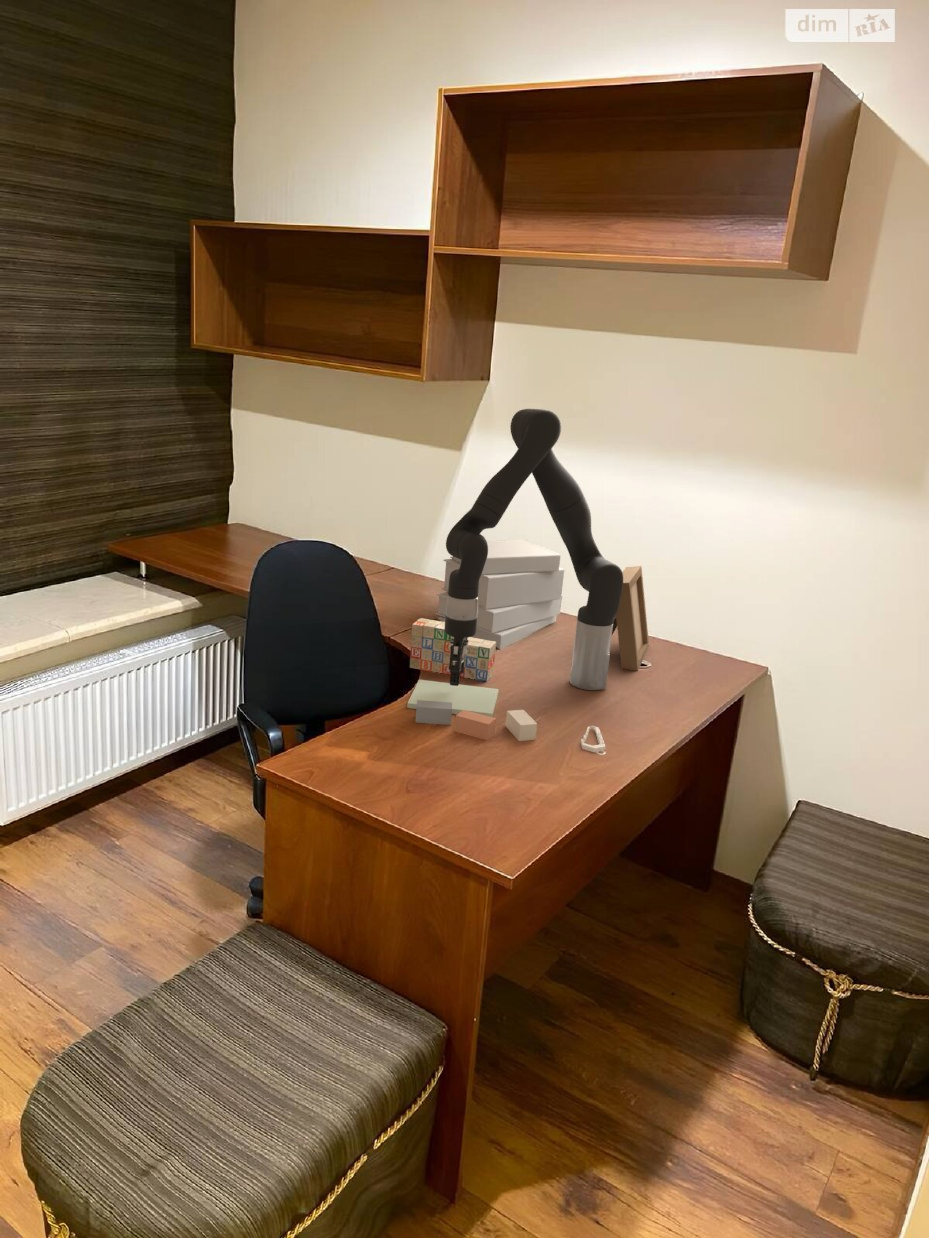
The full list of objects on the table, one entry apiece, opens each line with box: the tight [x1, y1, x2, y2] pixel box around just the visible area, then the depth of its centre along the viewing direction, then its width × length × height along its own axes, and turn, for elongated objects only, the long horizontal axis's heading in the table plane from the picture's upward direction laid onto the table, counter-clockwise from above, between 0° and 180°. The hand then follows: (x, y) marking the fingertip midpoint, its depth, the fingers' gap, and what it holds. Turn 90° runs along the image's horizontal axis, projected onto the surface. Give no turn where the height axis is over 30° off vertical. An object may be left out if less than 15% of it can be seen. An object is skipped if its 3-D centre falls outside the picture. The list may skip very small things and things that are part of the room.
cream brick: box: [505, 709, 538, 742], centre depth 209 cm, size 8×4×4 cm, turn 19°
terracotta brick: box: [454, 710, 497, 741], centre depth 207 cm, size 8×4×4 cm, turn 64°
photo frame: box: [612, 565, 650, 672], centre depth 261 cm, size 15×22×25 cm
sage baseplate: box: [406, 679, 499, 718], centre depth 224 cm, size 20×16×1 cm
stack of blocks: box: [409, 617, 497, 682], centre depth 242 cm, size 21×6×12 cm, turn 72°
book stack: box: [435, 539, 565, 650], centre depth 277 cm, size 30×35×26 cm
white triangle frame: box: [580, 725, 607, 756], centre depth 208 cm, size 13×5×2 cm, turn 1°
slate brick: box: [415, 700, 453, 726], centre depth 212 cm, size 8×4×4 cm, turn 91°
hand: (456, 678), depth 223 cm, fingers open, 8 cm apart
